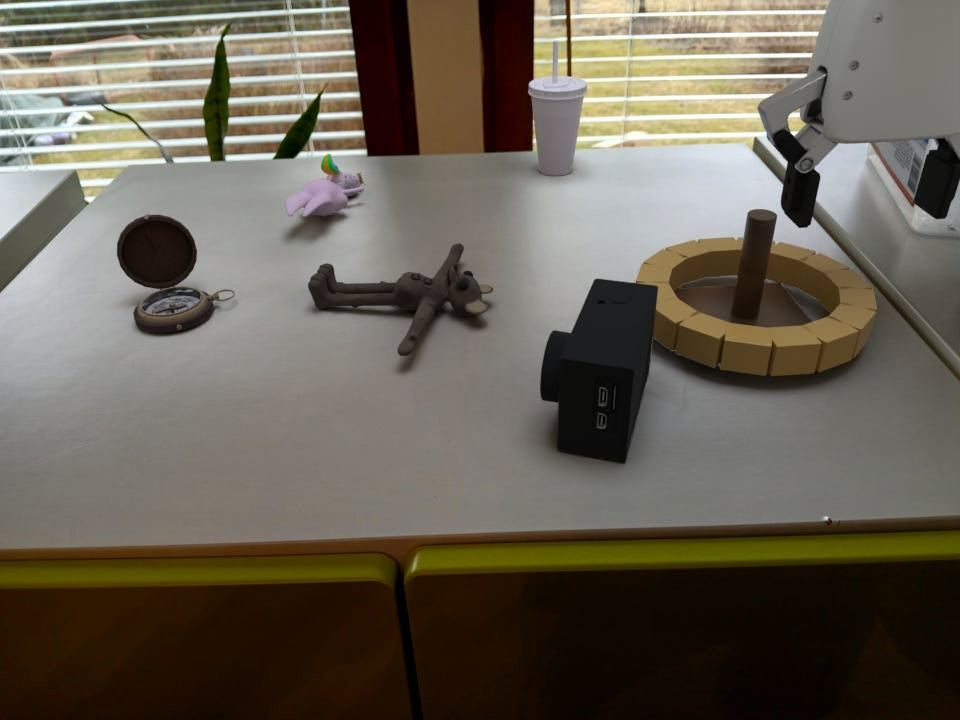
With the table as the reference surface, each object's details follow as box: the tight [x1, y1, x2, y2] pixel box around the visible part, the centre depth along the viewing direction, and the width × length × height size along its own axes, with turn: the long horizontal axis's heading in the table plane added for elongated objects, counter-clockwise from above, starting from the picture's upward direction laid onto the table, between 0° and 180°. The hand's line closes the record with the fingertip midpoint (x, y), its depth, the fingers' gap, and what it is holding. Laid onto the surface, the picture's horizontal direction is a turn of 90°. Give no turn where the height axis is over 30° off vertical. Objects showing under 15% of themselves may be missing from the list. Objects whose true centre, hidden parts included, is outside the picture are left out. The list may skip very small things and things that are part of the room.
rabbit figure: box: [284, 153, 366, 218], centre depth 80 cm, size 6×6×15 cm
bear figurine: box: [307, 242, 494, 357], centre depth 64 cm, size 18×4×14 cm
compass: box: [116, 213, 236, 334], centre depth 64 cm, size 8×8×7 cm
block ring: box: [635, 236, 878, 377], centre depth 59 cm, size 17×17×2 cm
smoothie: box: [527, 40, 588, 177], centre depth 87 cm, size 6×6×14 cm
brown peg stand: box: [674, 208, 813, 328], centre depth 58 cm, size 9×9×9 cm
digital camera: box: [539, 278, 658, 464], centre depth 51 cm, size 10×5×7 cm, turn 162°
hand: (862, 216), depth 56 cm, fingers open, 9 cm apart
